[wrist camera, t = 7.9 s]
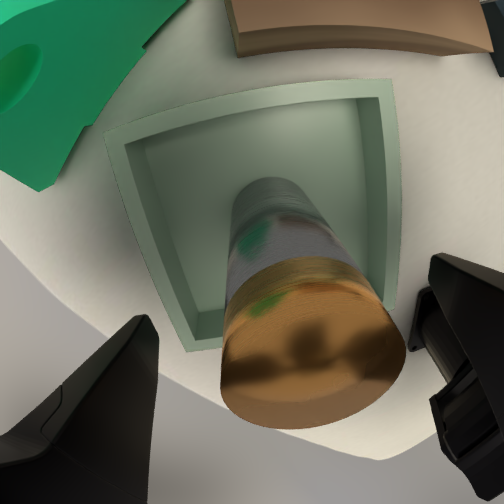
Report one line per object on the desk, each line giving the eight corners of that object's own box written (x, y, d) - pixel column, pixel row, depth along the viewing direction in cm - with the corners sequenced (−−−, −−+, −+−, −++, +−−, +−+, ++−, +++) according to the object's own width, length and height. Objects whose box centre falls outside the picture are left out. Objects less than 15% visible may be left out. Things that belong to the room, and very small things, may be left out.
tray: (374, 281, 17) (394, 309, 15) (191, 318, 18) (186, 352, 15) (362, 83, 12) (391, 79, 9) (127, 127, 12) (102, 132, 10)
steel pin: (305, 170, 13) (420, 290, 4) (314, 243, 15) (390, 406, 6) (223, 185, 13) (193, 337, 5) (240, 257, 15) (243, 438, 6)
